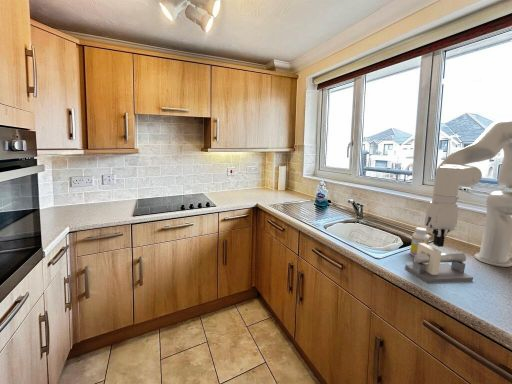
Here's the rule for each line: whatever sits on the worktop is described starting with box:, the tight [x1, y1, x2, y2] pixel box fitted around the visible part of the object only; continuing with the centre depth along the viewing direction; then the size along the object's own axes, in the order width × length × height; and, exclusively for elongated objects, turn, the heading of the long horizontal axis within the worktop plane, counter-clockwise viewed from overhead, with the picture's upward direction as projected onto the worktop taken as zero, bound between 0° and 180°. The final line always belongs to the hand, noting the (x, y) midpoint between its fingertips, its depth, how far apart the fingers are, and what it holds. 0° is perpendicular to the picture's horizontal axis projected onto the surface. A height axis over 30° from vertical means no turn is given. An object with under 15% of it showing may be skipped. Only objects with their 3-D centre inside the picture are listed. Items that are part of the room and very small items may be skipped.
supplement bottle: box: [410, 226, 430, 257], centre depth 123 cm, size 7×7×13 cm
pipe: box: [412, 252, 467, 274], centre depth 105 cm, size 19×4×7 cm, turn 97°
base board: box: [404, 262, 474, 284], centre depth 106 cm, size 19×12×2 cm, turn 97°
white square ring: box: [417, 243, 443, 275], centre depth 104 cm, size 2×9×9 cm, turn 7°
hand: (438, 245), depth 104 cm, fingers closed
